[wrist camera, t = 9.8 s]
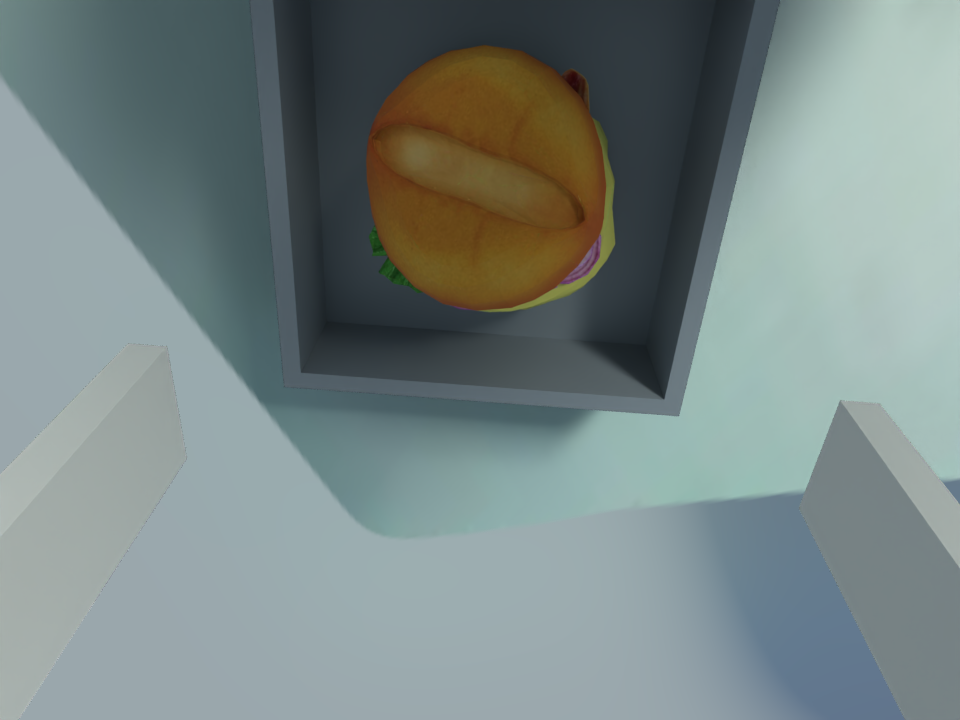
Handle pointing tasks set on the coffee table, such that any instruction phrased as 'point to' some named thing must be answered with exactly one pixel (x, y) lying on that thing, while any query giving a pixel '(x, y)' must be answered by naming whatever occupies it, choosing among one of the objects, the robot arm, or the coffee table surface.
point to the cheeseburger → (490, 182)
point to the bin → (636, 205)
